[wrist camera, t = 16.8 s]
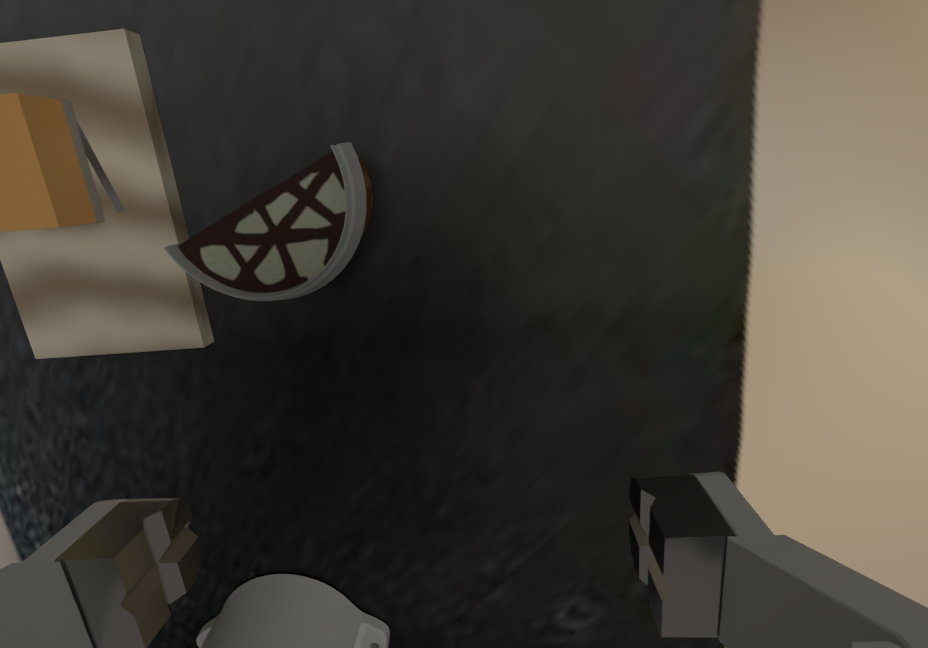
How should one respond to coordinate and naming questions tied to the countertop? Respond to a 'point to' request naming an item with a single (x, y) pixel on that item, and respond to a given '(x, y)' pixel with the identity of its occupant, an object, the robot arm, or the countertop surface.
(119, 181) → the birch board
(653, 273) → the countertop surface
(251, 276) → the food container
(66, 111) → the block
